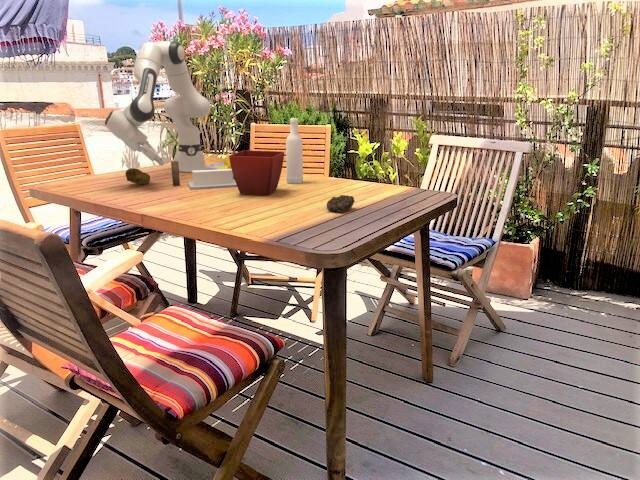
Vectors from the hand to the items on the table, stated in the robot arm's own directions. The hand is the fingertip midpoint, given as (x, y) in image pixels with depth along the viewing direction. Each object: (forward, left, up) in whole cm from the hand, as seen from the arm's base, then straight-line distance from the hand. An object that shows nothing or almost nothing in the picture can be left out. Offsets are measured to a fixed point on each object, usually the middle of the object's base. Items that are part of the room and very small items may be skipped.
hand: (162, 163), depth 240 cm
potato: (-8, -11, -11) cm, 17 cm away
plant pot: (+29, +37, -11) cm, 49 cm away
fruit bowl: (-16, +36, -11) cm, 41 cm away
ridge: (+6, +21, -11) cm, 25 cm away
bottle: (+11, +59, -11) cm, 61 cm away
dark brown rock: (+72, +58, -11) cm, 93 cm away
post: (0, +5, -11) cm, 12 cm away
